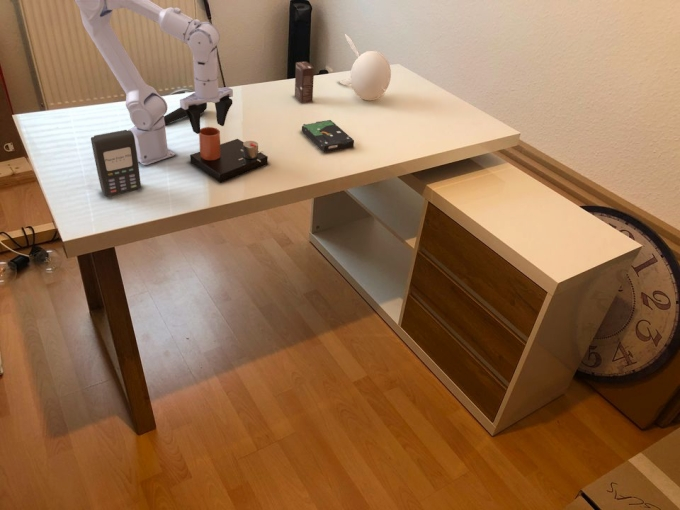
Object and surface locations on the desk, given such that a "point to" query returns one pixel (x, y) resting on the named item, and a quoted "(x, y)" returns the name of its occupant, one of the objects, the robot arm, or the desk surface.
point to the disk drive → (327, 136)
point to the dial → (250, 149)
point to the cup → (209, 143)
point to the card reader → (116, 162)
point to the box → (304, 82)
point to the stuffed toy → (368, 74)
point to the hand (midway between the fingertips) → (208, 128)
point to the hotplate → (229, 162)
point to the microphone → (181, 113)
